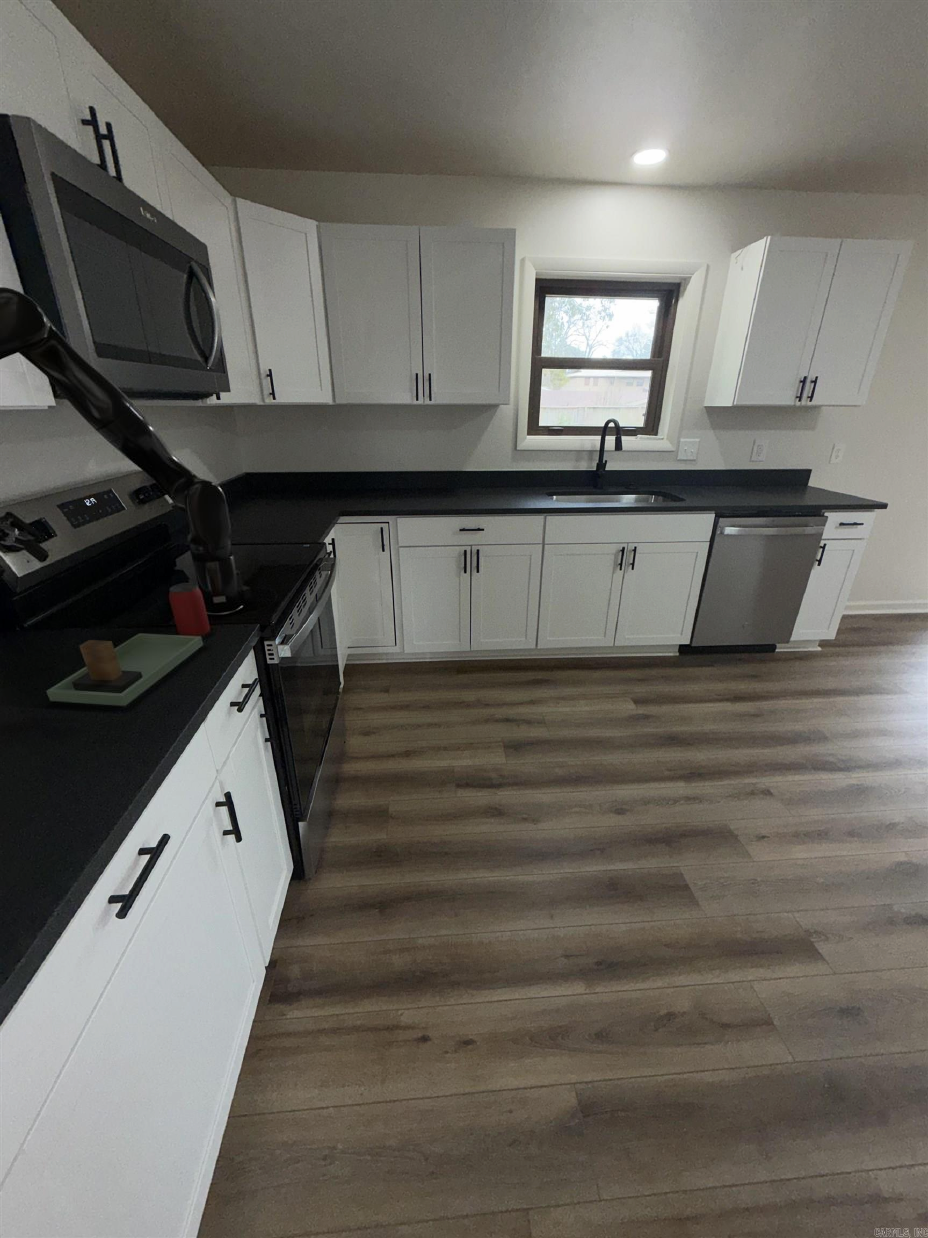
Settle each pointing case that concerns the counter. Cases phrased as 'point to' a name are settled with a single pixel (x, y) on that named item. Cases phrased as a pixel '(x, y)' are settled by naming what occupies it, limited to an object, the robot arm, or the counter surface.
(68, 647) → the counter surface
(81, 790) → the counter surface
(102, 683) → the eraser
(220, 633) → the counter surface
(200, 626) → the beer can
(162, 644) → the tray
